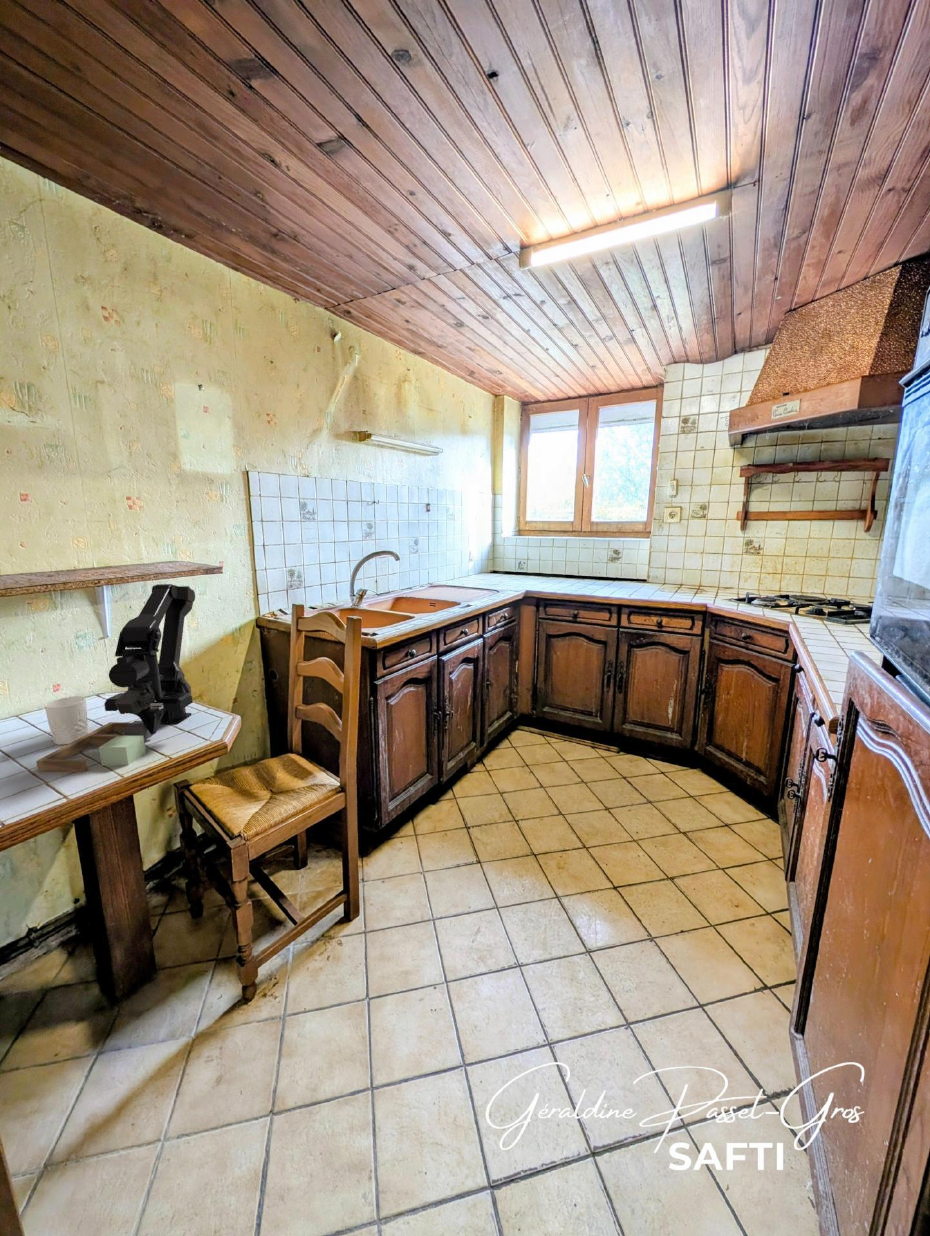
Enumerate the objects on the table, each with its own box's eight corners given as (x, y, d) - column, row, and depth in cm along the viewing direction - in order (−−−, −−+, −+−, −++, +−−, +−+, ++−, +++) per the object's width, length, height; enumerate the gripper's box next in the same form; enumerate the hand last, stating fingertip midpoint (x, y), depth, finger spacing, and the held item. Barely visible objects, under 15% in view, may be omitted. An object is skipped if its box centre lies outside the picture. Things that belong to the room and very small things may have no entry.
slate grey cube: (137, 735, 122) (135, 720, 121) (152, 735, 122) (150, 720, 121) (126, 742, 118) (124, 727, 117) (142, 742, 118) (140, 727, 117)
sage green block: (120, 753, 112) (117, 735, 112) (145, 753, 112) (143, 735, 112) (101, 766, 106) (98, 747, 106) (128, 765, 107) (125, 747, 106)
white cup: (86, 730, 125) (80, 693, 123) (95, 738, 120) (89, 700, 118) (47, 740, 119) (41, 702, 117) (55, 749, 114) (48, 709, 112)
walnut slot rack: (111, 730, 125) (109, 722, 124) (149, 731, 124) (148, 722, 124) (37, 771, 104) (36, 761, 103) (84, 771, 104) (82, 761, 103)
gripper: (81, 685, 109) (91, 748, 112) (162, 684, 109) (170, 748, 112) (117, 671, 120) (125, 729, 123) (190, 670, 120) (197, 728, 123)
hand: (153, 733), depth 120 cm, fingers closed
